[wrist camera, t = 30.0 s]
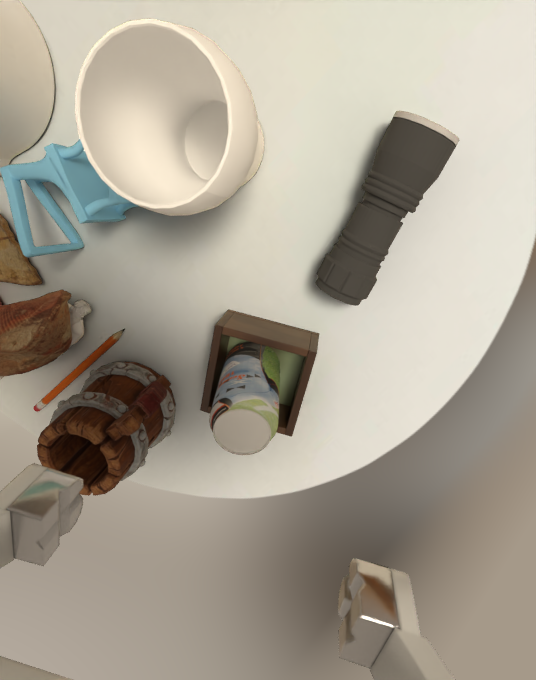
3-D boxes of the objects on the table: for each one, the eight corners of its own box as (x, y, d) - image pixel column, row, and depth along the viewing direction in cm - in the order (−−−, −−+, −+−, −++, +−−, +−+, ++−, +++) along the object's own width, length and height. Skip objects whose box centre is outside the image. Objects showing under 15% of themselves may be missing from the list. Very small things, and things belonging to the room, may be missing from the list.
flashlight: (360, 300, 39) (363, 317, 34) (312, 277, 39) (308, 291, 34) (448, 144, 33) (468, 137, 28) (391, 116, 33) (401, 105, 28)
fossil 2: (-40, 372, 41) (-8, 285, 43) (46, 388, 46) (71, 309, 48) (-43, 376, 31) (-2, 262, 33) (67, 396, 36) (98, 296, 38)
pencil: (41, 409, 52) (36, 404, 52) (130, 330, 45) (124, 324, 45) (36, 412, 51) (31, 407, 51) (126, 332, 44) (120, 326, 44)
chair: (41, 172, 40) (138, 123, 37) (78, 250, 42) (173, 209, 39) (-24, 164, 33) (89, 102, 30) (24, 258, 35) (135, 209, 32)
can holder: (213, 388, 46) (200, 410, 41) (228, 309, 42) (215, 324, 37) (296, 411, 45) (291, 436, 41) (319, 333, 41) (317, 352, 37)
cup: (250, 52, 33) (186, -44, 19) (298, 176, 36) (274, 172, 22) (147, 114, 36) (30, 70, 22) (200, 224, 39) (124, 246, 25)
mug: (66, 392, 49) (-22, 459, 35) (148, 324, 46) (89, 366, 32) (130, 456, 51) (72, 544, 37) (212, 395, 49) (183, 465, 34)
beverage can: (245, 326, 41) (212, 378, 30) (302, 363, 42) (290, 427, 31) (217, 368, 44) (178, 430, 33) (271, 403, 45) (250, 475, 34)
